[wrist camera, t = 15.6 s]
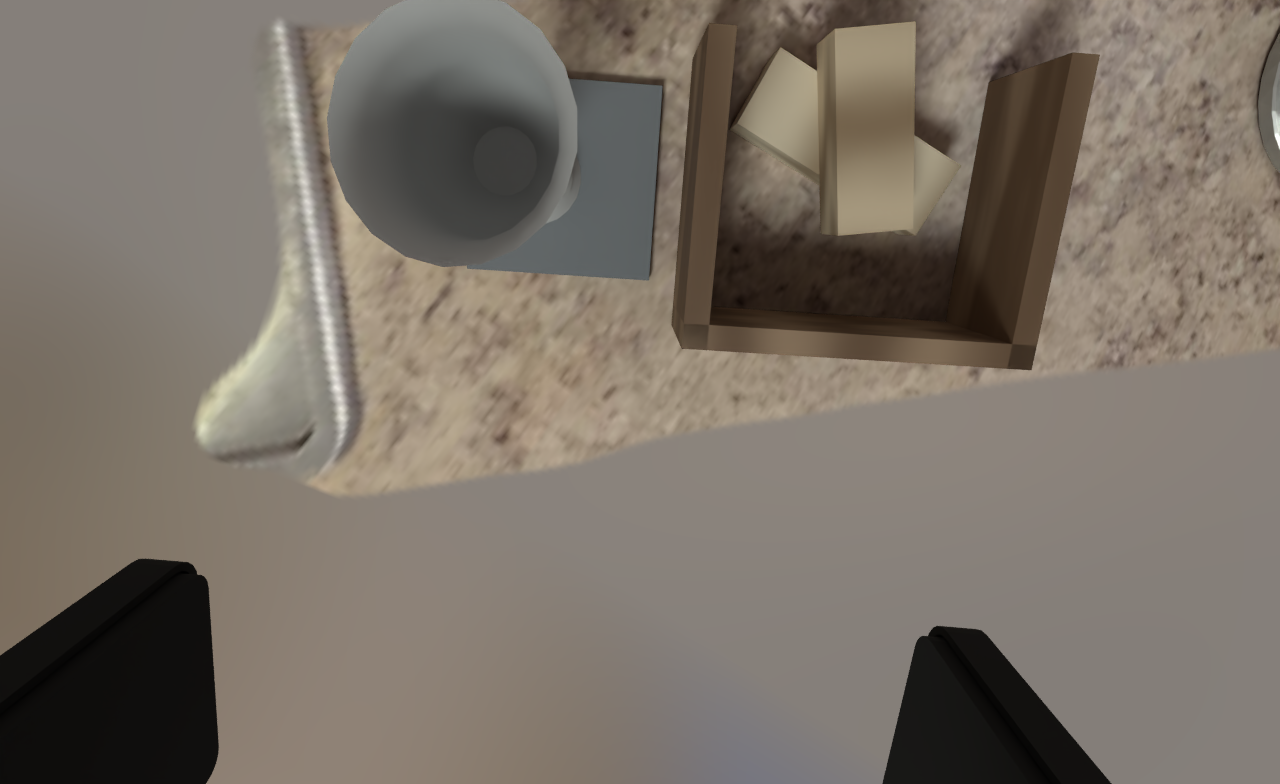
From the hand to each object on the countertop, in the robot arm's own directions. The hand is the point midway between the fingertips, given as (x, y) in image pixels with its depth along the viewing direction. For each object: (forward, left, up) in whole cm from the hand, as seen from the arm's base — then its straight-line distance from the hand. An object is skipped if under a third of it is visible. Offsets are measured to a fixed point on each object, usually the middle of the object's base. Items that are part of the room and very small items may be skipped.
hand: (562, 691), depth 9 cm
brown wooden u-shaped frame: (-12, -7, -31) cm, 34 cm away
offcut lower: (-12, -10, -32) cm, 35 cm away
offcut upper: (-12, -10, -29) cm, 33 cm away
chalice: (+4, -8, -31) cm, 32 cm away
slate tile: (+3, -8, -31) cm, 32 cm away
